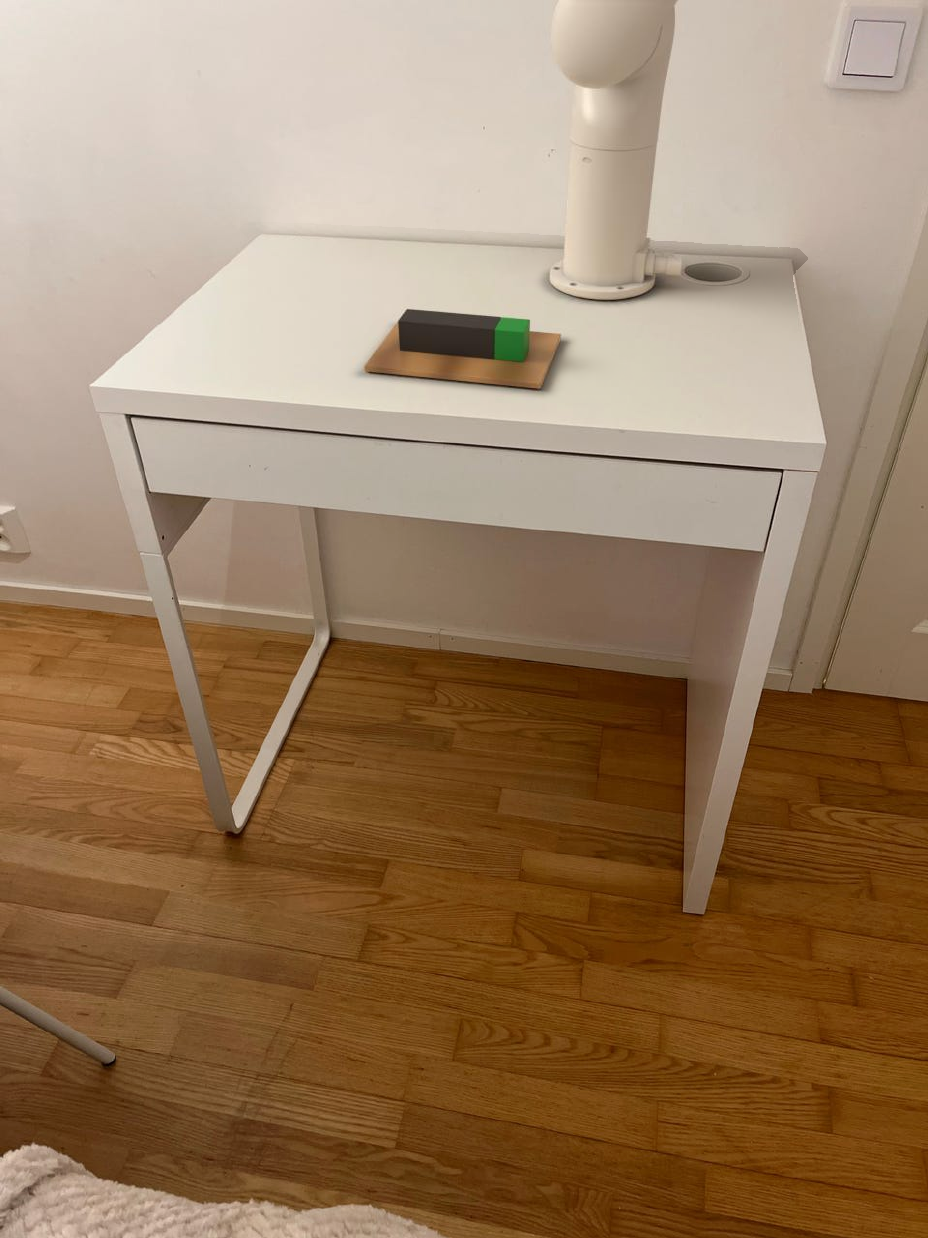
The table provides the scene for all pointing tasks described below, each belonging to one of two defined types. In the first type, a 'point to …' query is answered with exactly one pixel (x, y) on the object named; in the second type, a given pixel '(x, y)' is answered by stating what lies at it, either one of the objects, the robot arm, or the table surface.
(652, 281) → the robot arm
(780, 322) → the table surface
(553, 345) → the wooden board
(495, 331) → the marker
